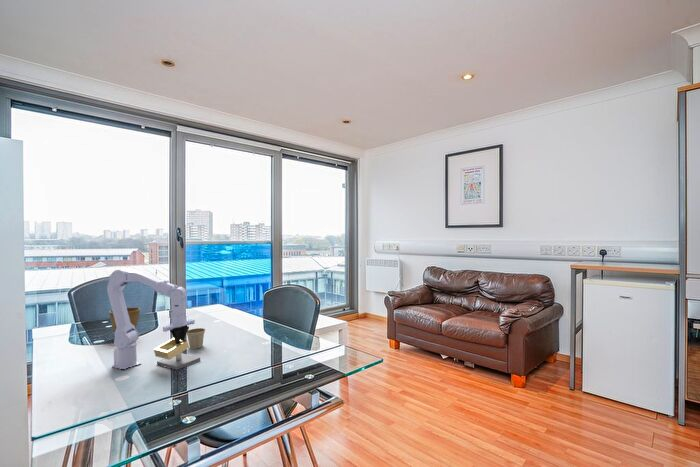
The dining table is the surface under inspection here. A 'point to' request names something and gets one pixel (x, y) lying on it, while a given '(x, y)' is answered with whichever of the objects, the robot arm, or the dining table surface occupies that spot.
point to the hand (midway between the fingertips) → (179, 343)
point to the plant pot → (133, 317)
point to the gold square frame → (164, 350)
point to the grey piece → (179, 361)
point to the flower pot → (196, 337)
